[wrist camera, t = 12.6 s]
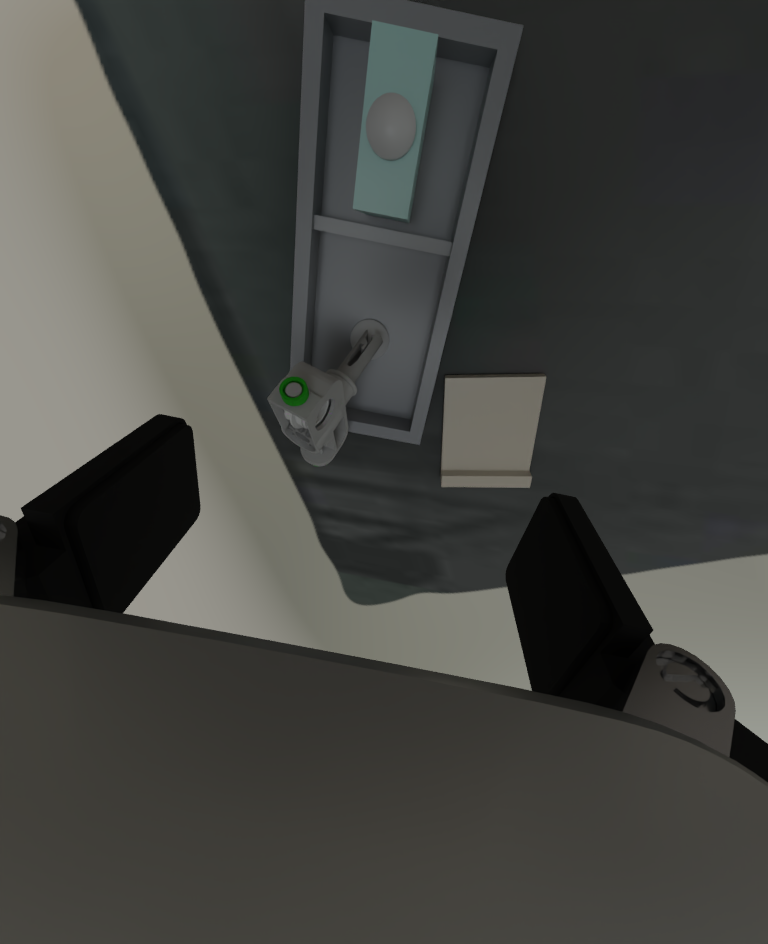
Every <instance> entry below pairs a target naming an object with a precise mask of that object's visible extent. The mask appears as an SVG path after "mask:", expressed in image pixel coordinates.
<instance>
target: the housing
mask: <svg viewBox="0 0 768 944" xmlns="http://www.w3.org/2000/svg"><path fill="white" fill-rule="evenodd" d="M523 26H524V25H519V24H515V23H510V22H505V21H501V20H496V19H492V18H487V17H482V16H478V15H473V14H468V13H464V12H459V11H454V10H450V9H445V8H441V7H436V6H431V5H427V4H422V3H417V2H413V1H408V0H305V11H304V36H303V61H302V86H301V111H300V136H299V161H298V185H297V210H296V235H295V260H294V285H293V310H292V335H291V360H290V371H291V369H292V368H293V367H294V366H295V365H296V364H297V363H299V362H301V361H303V362H305V363H307V364H309V365H311V366H313V367H315V368H317V369H319V370H321V371H323V372H325V373H326V371H327V370H329V369H335V370H337V369H338V368H339V366H340V365H341V364H342V362H343V361H344V360H345V358H346V357H347V355H348V354H349V353H350V351H351V350H352V349H353V347H354V346H355V345H356V343H357V342H358V340H359V339H360V338H361V336H362V335H363V334H364V332H365V331H366V330H367V329H368V345H369V344H370V342H371V335H380V336H381V337H382V339H383V343H382V345H381V346H380V348H379V349H378V351H377V352H376V354H375V355H374V356H373V358H372V359H371V361H370V362H369V363H368V365H367V366H366V368H365V369H364V371H363V372H362V373H361V375H360V376H359V378H358V379H357V381H356V382H355V385H356V388H357V393H356V395H355V396H352V397H351V398H350V400H349V401H348V403H347V404H346V413H347V420H348V427H349V429H348V432H354V433H359V434H364V435H370V436H375V437H380V438H386V439H391V440H396V441H401V442H407V443H412V444H417V445H420V441H421V437H422V433H423V429H424V425H425V421H426V417H427V413H428V409H429V405H430V401H431V397H432V393H433V389H434V385H435V381H436V377H437V372H438V368H439V364H440V360H441V356H442V352H443V348H444V344H445V340H446V336H447V332H448V328H449V324H450V320H451V316H452V312H453V308H454V304H455V300H456V296H457V292H458V288H459V284H460V280H461V276H462V272H463V268H464V264H465V260H466V256H467V252H468V248H469V244H470V240H471V235H472V231H473V227H474V223H475V219H476V215H477V211H478V207H479V203H480V199H481V195H482V191H483V187H484V183H485V179H486V175H487V171H488V167H489V163H490V159H491V155H492V151H493V147H494V143H495V139H496V135H497V131H498V127H499V123H500V119H501V115H502V111H503V107H504V103H505V98H506V94H507V90H508V86H509V82H510V78H511V74H512V70H513V66H514V62H515V58H516V54H517V50H518V46H519V42H520V38H521V34H522V30H523Z"/></svg>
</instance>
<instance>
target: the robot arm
mask: <svg viewBox="0 0 768 944" xmlns="http://www.w3.org/2000/svg"><path fill="white" fill-rule="evenodd" d="M21 510H22V512H23V514H24V517H22V518H21V519H19V520H18V521H17V522H14V521H13V520H11V519H10V518H8V517H4V516H0V944H768V744H767V743H766V742H764V741H763V740H762V739H761V738H759V737H758V736H757V735H755V734H754V733H752V732H751V731H750V730H749V729H747V728H746V727H745V726H743V725H742V724H741V723H740V722H738V721H737V720H735V711H736V710H735V702H734V699H733V697H732V695H731V693H730V691H729V689H728V688H727V686H726V685H725V683H724V682H723V681H722V679H721V678H720V677H719V676H718V675H717V674H716V673H715V672H714V671H713V670H712V669H711V668H710V667H709V666H708V665H707V664H705V663H704V662H703V661H702V660H700V659H699V658H698V657H696V656H695V655H693V654H691V653H689V652H688V651H685V650H684V649H682V648H679V647H676V646H674V645H671V644H662V643H660V644H656V645H655V644H654V642H653V640H652V639H651V637H650V633H651V632H652V631H653V629H652V627H651V625H650V624H649V622H648V620H647V618H646V617H645V615H644V613H643V611H642V610H641V608H640V606H639V605H638V603H637V601H636V599H635V598H634V596H633V594H632V592H631V591H630V589H629V587H628V586H627V584H626V582H625V580H624V579H623V577H622V575H621V573H620V572H619V570H618V568H617V566H616V565H615V563H614V561H613V560H612V558H611V556H610V554H609V553H608V551H607V549H606V547H605V546H604V544H603V542H602V541H601V539H600V537H599V535H598V534H597V532H596V530H595V528H594V527H593V525H592V523H591V522H590V520H589V518H588V516H587V515H586V513H585V511H584V509H583V508H582V506H581V504H580V503H579V501H578V499H577V498H576V497H572V496H567V495H562V494H557V493H552V494H551V495H549V497H543V498H542V499H541V501H540V503H539V505H538V507H537V509H536V511H535V513H534V515H533V517H532V519H531V521H530V523H529V525H528V527H527V529H526V531H525V533H524V535H523V537H522V539H521V540H520V542H519V544H518V546H517V548H516V550H515V552H514V554H513V556H512V558H511V560H510V562H509V564H508V567H507V570H506V583H507V587H508V591H509V595H510V600H511V604H512V608H513V612H514V617H515V621H516V625H517V629H518V633H519V638H520V642H521V646H522V650H523V654H524V659H525V662H526V667H527V671H528V676H529V680H530V684H531V688H532V691H529V690H524V689H520V688H515V687H510V686H505V685H500V684H495V683H490V682H484V681H479V680H474V679H468V678H464V677H459V676H454V675H448V674H443V673H438V672H433V671H428V670H422V669H417V668H412V667H407V666H402V665H397V664H392V663H386V662H381V661H376V660H370V659H365V658H360V657H355V656H349V655H344V654H339V653H334V652H328V651H323V650H318V649H312V648H307V647H302V646H296V645H291V644H286V643H280V642H275V641H270V640H264V639H259V638H254V637H248V636H243V635H237V634H232V633H227V632H221V631H216V630H210V629H205V628H199V627H194V626H188V625H182V624H177V623H172V622H167V621H161V620H155V619H150V618H144V617H139V616H134V615H128V614H123V612H124V611H125V610H126V608H127V607H128V606H129V605H130V603H131V602H132V601H133V600H134V598H135V597H136V596H137V595H138V593H139V592H140V591H141V590H142V588H143V587H144V586H145V584H146V583H147V582H148V581H149V579H150V578H151V577H152V576H153V574H154V573H155V572H156V571H157V569H158V568H159V567H160V565H161V564H162V563H163V562H164V560H165V559H166V558H167V557H168V555H169V554H170V553H171V552H172V550H173V549H174V548H175V546H176V545H177V544H178V543H179V541H180V540H181V539H182V538H183V536H184V535H185V534H186V533H187V531H188V530H189V528H190V527H191V526H192V525H193V524H194V522H195V521H196V520H197V518H198V516H199V513H200V498H199V488H198V479H197V470H196V459H195V449H194V439H193V431H192V428H191V427H190V426H189V425H187V424H186V422H185V420H184V419H181V418H177V417H171V416H167V415H162V414H161V415H160V414H159V415H156V416H155V417H153V418H152V419H150V420H149V421H147V422H146V423H144V424H143V425H141V426H140V427H139V428H137V429H136V430H134V431H133V432H131V433H130V434H128V435H127V436H125V437H124V438H123V439H121V440H120V441H118V442H117V443H115V444H114V445H112V446H111V447H109V448H108V449H107V450H105V451H103V452H102V453H100V454H99V455H98V456H96V457H95V458H93V459H92V460H90V461H89V462H87V463H86V464H85V465H83V466H82V467H80V468H79V469H77V470H76V471H74V472H73V473H71V474H70V475H68V476H67V477H65V478H64V479H62V480H61V481H60V482H58V483H57V484H55V485H54V486H52V487H51V488H49V489H48V490H46V491H45V492H44V493H42V494H41V495H39V496H38V497H36V498H35V499H33V500H32V501H30V502H29V503H27V504H26V505H24V506H23V507H22V508H21Z"/></svg>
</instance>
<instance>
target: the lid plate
mask: <svg viewBox="0 0 768 944" xmlns="http://www.w3.org/2000/svg"><path fill="white" fill-rule="evenodd" d="M545 381H546V376H545V375H544V374H491V375H445V382H444V406H443V429H442V453H441V476H440V477H441V487H511V488H530V484H531V479H532V476H531V474H530V471H529V469H530V463H531V458H532V452H533V447H534V441H535V436H536V431H537V425H538V420H539V414H540V409H541V403H542V398H543V392H544V387H545Z"/></svg>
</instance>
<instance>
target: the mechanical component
mask: <svg viewBox="0 0 768 944" xmlns="http://www.w3.org/2000/svg"><path fill="white" fill-rule="evenodd" d="M382 343H383V339H382V337H381V336H380V335H371V342H370V344H369V345H368V329H367V330H366V331H365V332H364V334H363V335H362V336H361V338H360V339H359V340H358V342H357V343H356V345H355V346H354V347H353V349H352V350H351V351H350V353H349V354H348V355H347V357H346V358H345V360H344V361H343V362H342V364H341V365H340V366H339V368H338V369H337V370H335V369H329V370H327V371H326V373H325V372H323V371H321V370H319V369H317V368H315V367H313V366H311V365H309V364H307V363H305V362H303V361H301V362H299V363H297V364H296V365H295V366H294V367H293V368H292V369H291V371H290V372H289V373H288V375H287V376H286V377H285V378H283V379H282V380H281V381H280V383H279V384H278V385H277V386H276V388H275V389H274V390H273V392H272V393H271V394H270V395H269V397H268V398H267V399H268V401H269V403H270V405H271V407H272V409H273V411H274V413H275V415H276V417H277V419H278V421H279V423H280V425H281V427H282V428H281V429H282V431H283V433H284V434H285V435H286V436H287V437H288V438H289V439H290V440H291V441H292V442H294V443H295V444H296V445H298V446H300V447H301V448H300V449H301V453H302V456H303V458H304V459H305V460H306V461H307V462H308V463H310V464H312V465H314V466H324V465H326V464H328V463H330V462H331V461H332V459H333V458H334V456H335V455H336V453H337V452H338V450H339V449H340V448H341V446H342V444H343V443H344V441H345V439H346V437H347V434H348V429H349V427H348V420H347V413H346V404H347V403H348V401H349V400H350V398H351V397H352V396H355V395H356V393H357V388H356V385H355V382H356V381H357V379H358V378H359V376H360V375H361V373H362V372H363V371H364V369H365V368H366V366H367V365H368V363H369V362H370V361H371V359H372V358H373V356H374V355H375V354H376V352H377V351H378V349H379V348H380V346H381V345H382ZM283 409H284V410H283Z"/></svg>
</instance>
